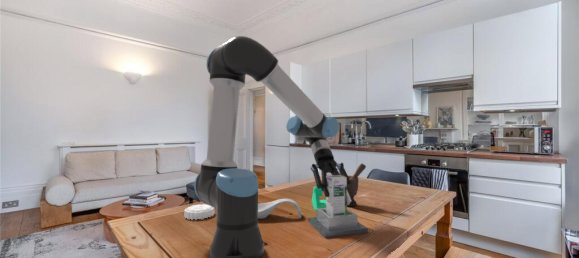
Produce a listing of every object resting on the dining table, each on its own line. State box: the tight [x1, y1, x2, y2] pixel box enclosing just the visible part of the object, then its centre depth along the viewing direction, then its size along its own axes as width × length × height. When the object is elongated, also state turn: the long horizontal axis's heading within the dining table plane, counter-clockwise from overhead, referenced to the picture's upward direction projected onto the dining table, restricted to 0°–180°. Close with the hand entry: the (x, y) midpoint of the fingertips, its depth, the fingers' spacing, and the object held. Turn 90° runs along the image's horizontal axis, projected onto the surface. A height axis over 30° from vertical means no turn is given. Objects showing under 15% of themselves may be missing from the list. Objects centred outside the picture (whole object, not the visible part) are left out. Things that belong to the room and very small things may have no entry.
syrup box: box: [325, 174, 348, 216], centre depth 94 cm, size 6×6×14 cm
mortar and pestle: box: [347, 163, 367, 207], centre depth 122 cm, size 12×9×20 cm
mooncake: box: [183, 203, 216, 221], centre depth 107 cm, size 12×12×4 cm
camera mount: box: [311, 186, 327, 212], centre depth 115 cm, size 12×8×10 cm, turn 6°
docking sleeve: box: [307, 208, 369, 239], centre depth 93 cm, size 16×16×6 cm
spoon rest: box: [258, 198, 302, 220], centre depth 105 cm, size 24×12×7 cm, turn 91°
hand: (341, 203), depth 90 cm, fingers closed on syrup box, 6 cm apart
